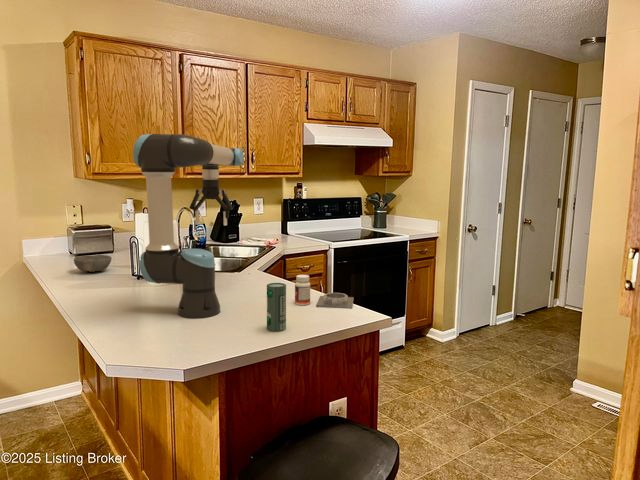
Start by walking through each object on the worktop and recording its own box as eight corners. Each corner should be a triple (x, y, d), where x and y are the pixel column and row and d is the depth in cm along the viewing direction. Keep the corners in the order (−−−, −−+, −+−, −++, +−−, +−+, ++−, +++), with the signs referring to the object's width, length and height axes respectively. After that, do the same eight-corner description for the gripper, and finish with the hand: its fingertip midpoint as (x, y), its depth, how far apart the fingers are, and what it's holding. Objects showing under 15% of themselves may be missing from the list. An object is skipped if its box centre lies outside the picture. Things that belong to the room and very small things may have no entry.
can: (272, 324, 161) (272, 282, 159) (288, 327, 159) (288, 283, 157) (264, 330, 155) (263, 285, 153) (280, 332, 153) (280, 287, 151)
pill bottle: (294, 301, 191) (294, 274, 189) (309, 301, 191) (309, 274, 190) (295, 305, 185) (295, 277, 183) (310, 305, 185) (311, 277, 184)
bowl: (111, 274, 238) (110, 258, 237) (72, 276, 232) (71, 260, 231) (112, 267, 255) (112, 253, 254) (76, 269, 248) (75, 254, 247)
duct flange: (352, 308, 182) (352, 300, 182) (316, 306, 183) (316, 299, 183) (353, 299, 196) (353, 292, 195) (320, 297, 197) (320, 290, 197)
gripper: (239, 179, 218) (239, 224, 221) (188, 178, 222) (189, 223, 225) (234, 179, 211) (234, 226, 214) (181, 178, 215) (182, 224, 217)
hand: (211, 225), depth 219 cm, fingers open, 13 cm apart
